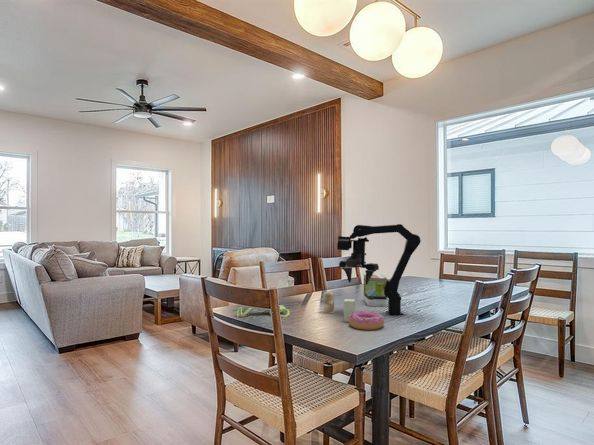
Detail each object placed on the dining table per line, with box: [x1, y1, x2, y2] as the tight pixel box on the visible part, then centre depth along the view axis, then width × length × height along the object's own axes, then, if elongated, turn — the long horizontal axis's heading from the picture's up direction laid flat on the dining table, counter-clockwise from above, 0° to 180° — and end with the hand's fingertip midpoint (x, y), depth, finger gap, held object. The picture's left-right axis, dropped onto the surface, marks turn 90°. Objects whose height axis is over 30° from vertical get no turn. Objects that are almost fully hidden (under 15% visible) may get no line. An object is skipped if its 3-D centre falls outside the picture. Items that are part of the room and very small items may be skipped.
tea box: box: [363, 273, 388, 307], centre depth 201 cm, size 15×10×15 cm, turn 179°
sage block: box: [343, 298, 356, 323], centre depth 165 cm, size 4×4×9 cm
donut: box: [348, 310, 385, 331], centre depth 157 cm, size 14×14×5 cm
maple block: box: [323, 291, 335, 314], centre depth 182 cm, size 4×4×9 cm
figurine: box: [236, 303, 291, 318], centre depth 180 cm, size 18×27×6 cm
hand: (358, 283), depth 181 cm, fingers open, 9 cm apart
